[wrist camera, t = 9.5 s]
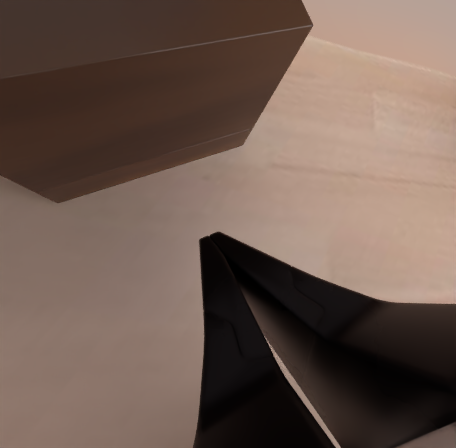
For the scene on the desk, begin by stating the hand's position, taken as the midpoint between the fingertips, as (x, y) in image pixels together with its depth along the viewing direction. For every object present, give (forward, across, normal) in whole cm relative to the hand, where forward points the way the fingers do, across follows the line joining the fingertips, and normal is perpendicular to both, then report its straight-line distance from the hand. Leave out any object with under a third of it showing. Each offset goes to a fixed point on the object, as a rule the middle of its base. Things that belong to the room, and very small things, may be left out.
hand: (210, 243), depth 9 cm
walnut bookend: (+14, 0, -3) cm, 15 cm away
